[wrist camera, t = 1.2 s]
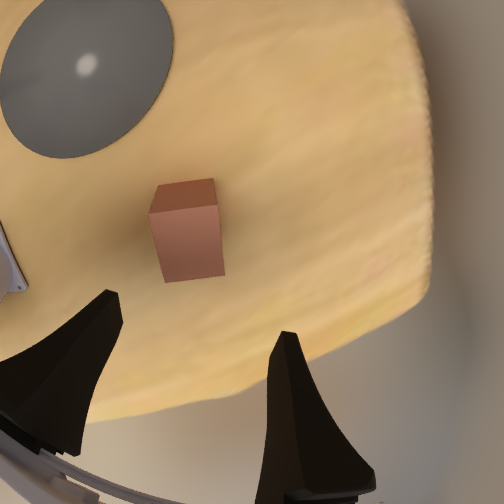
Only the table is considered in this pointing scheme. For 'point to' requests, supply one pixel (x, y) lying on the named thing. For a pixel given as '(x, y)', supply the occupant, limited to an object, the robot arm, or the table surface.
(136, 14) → the plate
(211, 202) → the block
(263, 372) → the table surface
